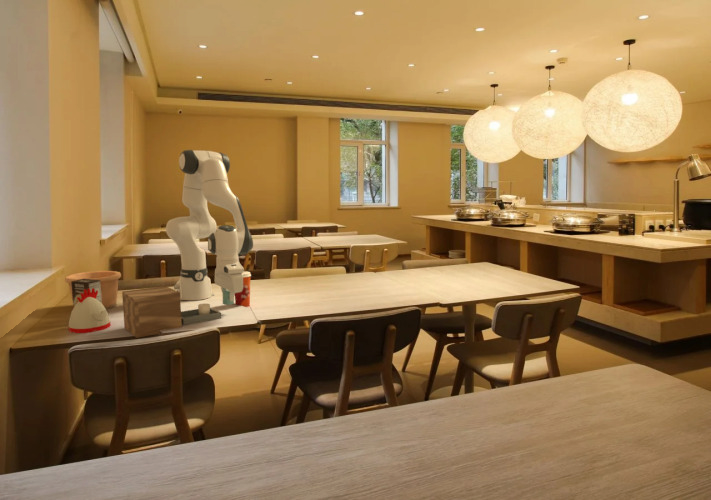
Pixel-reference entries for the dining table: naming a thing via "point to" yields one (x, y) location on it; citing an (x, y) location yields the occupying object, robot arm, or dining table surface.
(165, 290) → the wood grain block
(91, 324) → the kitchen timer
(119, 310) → the dining table surface
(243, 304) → the coffee cup
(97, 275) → the pottery
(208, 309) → the cream rounded cylinder
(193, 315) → the tray
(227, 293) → the teal short cylinder
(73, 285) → the coffee box
